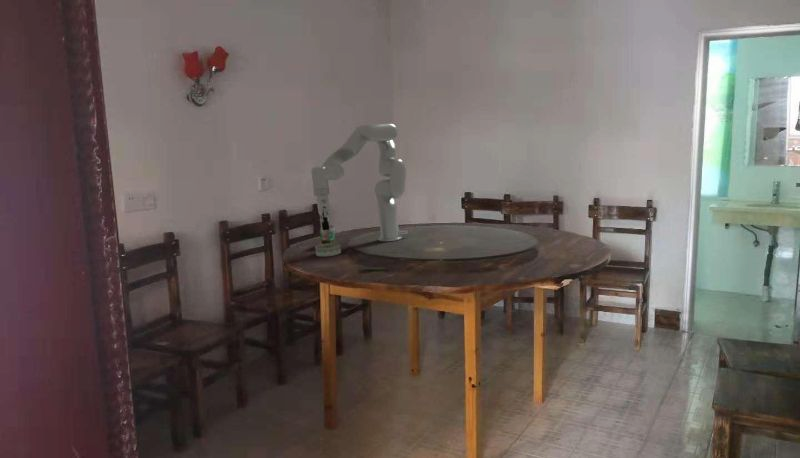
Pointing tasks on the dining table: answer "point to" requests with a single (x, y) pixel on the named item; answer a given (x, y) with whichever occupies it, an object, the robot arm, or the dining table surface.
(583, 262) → the dining table surface
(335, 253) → the bead
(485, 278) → the dining table surface
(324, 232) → the peg
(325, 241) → the food container
